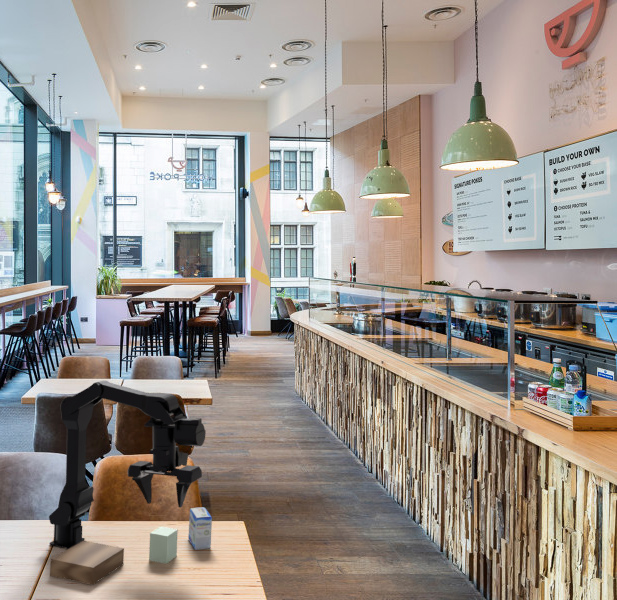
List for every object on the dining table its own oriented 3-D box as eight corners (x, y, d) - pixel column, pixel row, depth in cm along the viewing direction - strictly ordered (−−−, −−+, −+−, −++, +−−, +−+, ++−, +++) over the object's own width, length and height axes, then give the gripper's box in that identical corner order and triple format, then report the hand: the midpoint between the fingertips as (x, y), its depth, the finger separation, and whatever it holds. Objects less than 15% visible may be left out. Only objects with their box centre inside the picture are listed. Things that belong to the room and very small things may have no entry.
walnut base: (50, 575, 150) (50, 558, 150) (83, 555, 162) (83, 540, 161) (92, 584, 146) (93, 567, 146) (123, 564, 158) (123, 548, 158)
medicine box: (188, 539, 175) (189, 508, 175) (204, 537, 177) (205, 506, 177) (194, 550, 168) (195, 518, 168) (211, 548, 170) (212, 516, 169)
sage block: (149, 560, 161) (150, 533, 160) (159, 553, 165) (160, 526, 165) (166, 564, 159) (167, 536, 159) (176, 556, 164) (177, 529, 164)
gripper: (211, 439, 166) (212, 499, 166) (151, 435, 173) (151, 492, 173) (190, 449, 156) (190, 512, 156) (126, 444, 162) (126, 505, 162)
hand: (164, 505), depth 162 cm, fingers open, 9 cm apart
